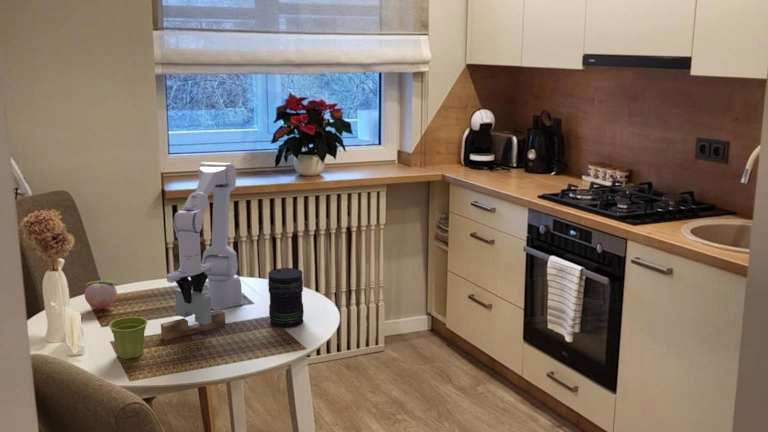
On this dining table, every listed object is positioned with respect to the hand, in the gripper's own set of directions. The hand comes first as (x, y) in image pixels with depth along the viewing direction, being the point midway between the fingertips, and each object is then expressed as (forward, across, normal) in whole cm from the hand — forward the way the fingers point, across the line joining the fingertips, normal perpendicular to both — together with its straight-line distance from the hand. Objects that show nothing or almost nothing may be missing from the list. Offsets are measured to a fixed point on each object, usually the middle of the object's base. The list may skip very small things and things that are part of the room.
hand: (192, 301), depth 213 cm
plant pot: (+9, +21, 0) cm, 23 cm away
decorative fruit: (+9, +6, -36) cm, 38 cm away
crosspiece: (+5, 0, 0) cm, 5 cm away
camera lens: (+9, -21, +15) cm, 28 cm away
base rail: (+9, 0, 0) cm, 9 cm away
